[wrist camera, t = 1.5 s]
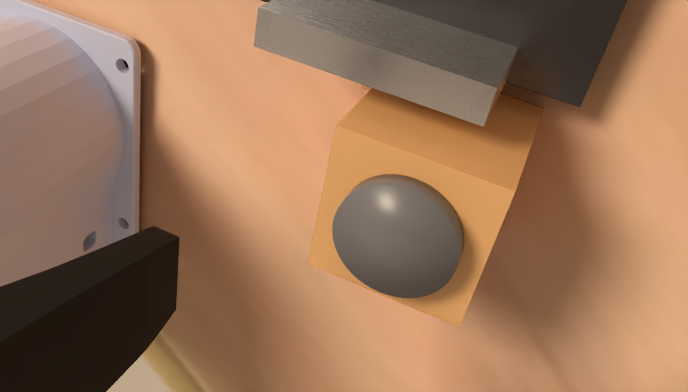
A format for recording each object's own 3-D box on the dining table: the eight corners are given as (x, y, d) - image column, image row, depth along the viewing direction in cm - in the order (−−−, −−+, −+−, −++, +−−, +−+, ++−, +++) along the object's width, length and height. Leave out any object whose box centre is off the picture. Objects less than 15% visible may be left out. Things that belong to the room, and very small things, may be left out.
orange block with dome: (495, 228, 21) (454, 342, 17) (369, 179, 22) (298, 276, 18) (544, 108, 19) (511, 204, 14) (399, 58, 20) (326, 135, 15)
